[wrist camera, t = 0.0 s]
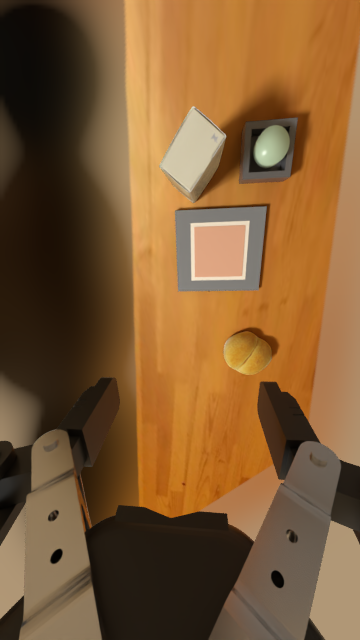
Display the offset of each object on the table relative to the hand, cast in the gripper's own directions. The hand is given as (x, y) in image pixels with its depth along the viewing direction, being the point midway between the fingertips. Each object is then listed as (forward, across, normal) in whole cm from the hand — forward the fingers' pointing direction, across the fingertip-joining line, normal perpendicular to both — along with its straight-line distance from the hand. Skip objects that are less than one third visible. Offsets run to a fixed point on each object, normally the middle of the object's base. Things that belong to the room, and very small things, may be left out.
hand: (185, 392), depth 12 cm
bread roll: (+30, -10, +14) cm, 34 cm away
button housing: (+29, -10, -18) cm, 36 cm away
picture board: (+29, -4, -5) cm, 30 cm away
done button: (+27, -10, -18) cm, 34 cm away
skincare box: (+30, 0, -16) cm, 34 cm away
